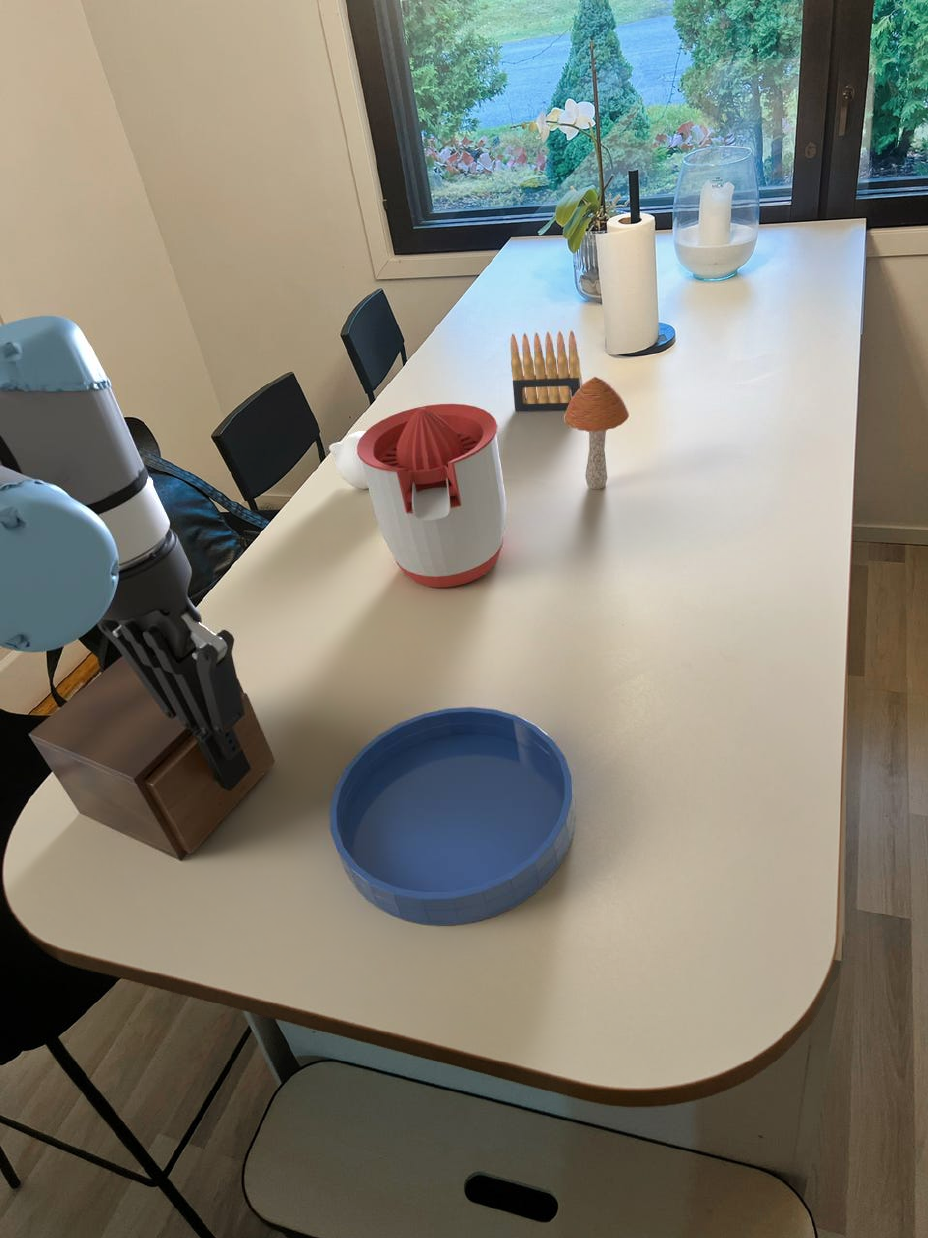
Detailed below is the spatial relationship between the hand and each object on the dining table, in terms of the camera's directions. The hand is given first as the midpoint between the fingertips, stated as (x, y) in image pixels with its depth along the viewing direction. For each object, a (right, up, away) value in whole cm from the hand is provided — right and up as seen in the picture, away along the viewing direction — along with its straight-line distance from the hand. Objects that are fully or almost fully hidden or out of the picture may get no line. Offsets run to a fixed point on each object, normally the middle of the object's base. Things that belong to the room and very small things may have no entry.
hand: (236, 778), depth 75 cm
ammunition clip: (+33, +46, +61) cm, 83 cm away
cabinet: (-8, -2, +8) cm, 11 cm away
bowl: (+19, -3, 0) cm, 19 cm away
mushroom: (+37, +31, +40) cm, 63 cm away
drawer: (-6, -2, +6) cm, 9 cm away
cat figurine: (+8, +32, +49) cm, 59 cm away
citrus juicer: (+18, +20, +30) cm, 41 cm away
